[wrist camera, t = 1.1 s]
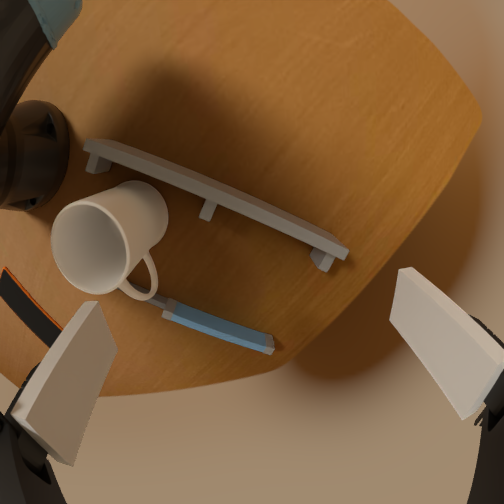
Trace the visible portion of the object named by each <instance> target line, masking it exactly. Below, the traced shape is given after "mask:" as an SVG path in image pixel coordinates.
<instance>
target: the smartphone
mask: <svg viewBox="0 0 504 504" xmlns="http://www.w3.org/2000/svg"><path fill="white" fill-rule="evenodd" d="M0 296H1V297H2V299H3V300H4V301H5V302H6V303H7V305H8V306H9V307H10V308H11V309H12V310H13V312H14V313H15V314H16V315H17V316H18V317H19V318H20V319H21V320H22V321H23V322H24V323H25V325H26V326H27V327H28V328H29V329H30V330H31V331H32V332H33V333H34V334H35V335H36V336H37V337H38V338H39V339H40V340H41V341H42V342H43V343H45V344H46V345H47V346H48V347H49V348H51V347H52V345H53V344H54V342H55V341H56V339H57V338H58V337H59V335H60V334H61V332H62V331H63V330H64V329H63V328H62V327H61V326H60V325H59V324H58V323H56V322H55V321H54V320H53V319H52V318H51V317H50V316H49V315H48V314H47V313H46V312H45V311H44V310H43V308H42V307H41V306H40V305H39V304H38V303H37V302H36V301H35V300H34V299H33V298H32V297H31V296H30V294H29V293H28V292H27V291H26V290H25V289H24V288H23V287H22V285H21V284H20V283H19V281H18V280H17V279H16V278H15V277H14V275H12V273H11V272H10V271H9V270H8V268H7V267H3V270H2V273H1V276H0Z"/></svg>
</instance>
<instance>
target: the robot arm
mask: <svg viewBox="0 0 504 504" xmlns="http://www.w3.org/2000/svg"><path fill="white" fill-rule="evenodd" d="M81 9H82V0H0V209H6V210H14V211H28V210H32V209H34V208H37V207H40V206H42V205H44V204H45V203H47V202H48V201H49V200H50V199H51V198H52V197H53V196H54V194H55V193H56V192H57V190H58V188H59V187H60V185H61V183H62V180H63V178H64V175H65V172H66V168H67V164H68V158H69V134H68V129H67V125H66V122H65V120H64V117H63V115H62V114H61V112H60V111H59V110H58V109H57V108H56V107H55V106H54V105H52V104H51V103H48V102H44V101H38V100H30V101H25V102H22V103H19V104H17V103H18V101H19V99H20V97H21V96H22V94H23V92H24V91H25V89H26V87H27V86H28V84H29V82H30V81H31V79H32V78H33V76H34V75H35V73H36V72H37V70H38V69H39V67H40V66H41V64H42V63H43V62H44V60H45V59H46V57H47V56H48V55H49V53H50V52H51V51H52V49H53V50H54V49H55V48H56V47H57V43H58V41H59V40H60V39H61V37H62V36H63V35H64V33H65V32H66V31H67V30H68V28H69V27H70V26H71V25H72V23H73V22H74V21H75V20H76V19H77V17H78V16H79V14H80V12H81ZM390 321H391V323H392V324H393V325H394V327H395V328H396V329H397V330H398V332H399V333H400V334H401V336H402V337H403V338H404V339H405V341H406V342H407V343H408V345H409V346H410V347H411V349H412V350H413V351H414V352H415V354H416V355H417V356H418V358H419V359H420V361H421V362H422V363H423V364H424V366H425V367H426V369H427V370H428V372H429V373H430V374H431V376H432V377H433V378H434V380H435V381H436V382H437V384H438V386H439V387H440V388H441V390H442V391H443V392H444V394H445V396H446V397H447V399H448V400H449V401H450V403H451V404H452V406H453V407H454V409H455V410H456V412H457V413H458V415H459V416H460V418H461V420H463V419H465V418H467V417H469V416H470V415H472V414H474V413H475V412H476V411H477V410H478V408H479V407H480V405H481V404H482V403H483V401H484V402H485V404H486V405H487V406H486V407H485V409H484V410H483V411H482V413H481V414H480V415H479V416H478V418H477V419H476V420H475V423H474V425H475V426H476V425H477V423H479V421H480V420H481V419H482V418H483V420H482V422H481V424H480V425H479V426H482V431H481V439H480V447H479V453H478V459H477V464H476V469H475V474H474V478H473V483H472V487H471V491H470V494H469V498H468V501H467V504H504V343H503V342H502V341H501V340H500V339H499V338H497V336H496V335H493V332H492V331H490V330H489V329H487V327H486V326H485V325H484V324H483V323H482V322H481V321H480V320H479V319H477V318H475V317H473V316H471V315H469V314H467V313H466V312H464V311H463V310H462V309H461V308H460V307H459V306H458V305H457V304H456V303H454V302H453V301H452V300H451V299H450V298H449V297H447V296H446V295H445V294H444V293H443V292H442V291H440V290H439V289H438V288H437V287H436V286H434V285H433V284H432V283H431V282H430V281H428V280H427V279H426V278H425V277H424V276H422V275H421V274H420V273H418V272H417V271H416V270H415V269H414V268H412V267H409V268H404V269H399V271H398V277H397V283H396V289H395V295H394V300H393V305H392V310H391V315H390ZM117 351H118V348H117V346H116V344H115V342H114V339H113V337H112V335H111V332H110V330H109V327H108V325H107V322H106V320H105V317H104V315H103V312H102V310H101V307H100V304H99V301H85V302H84V303H83V304H82V306H81V307H80V308H79V310H78V311H77V312H76V313H75V315H74V316H73V317H72V319H71V320H70V321H69V323H68V324H67V326H66V327H65V328H64V330H63V331H62V332H61V334H60V335H59V337H58V338H57V339H56V341H55V342H54V344H53V345H52V347H51V348H50V350H49V351H48V352H47V354H46V355H45V357H44V358H43V360H42V361H41V362H40V363H39V364H37V365H36V366H35V367H34V368H33V369H32V370H31V371H30V373H29V375H28V376H27V378H26V381H24V383H23V384H22V386H21V388H20V389H19V391H18V392H17V394H16V396H15V398H14V399H13V401H12V403H11V405H10V406H9V408H8V410H7V412H6V413H5V415H3V414H2V413H1V412H0V504H67V503H66V501H65V499H64V497H63V494H62V493H61V490H60V487H59V485H58V482H57V480H56V478H55V475H54V472H53V470H52V467H51V464H50V462H49V461H48V460H47V459H46V457H47V454H49V455H51V456H52V457H53V458H54V459H55V460H56V461H58V462H60V463H63V464H66V465H70V466H74V462H75V459H76V456H77V453H78V450H79V447H80V444H81V441H82V438H83V435H84V432H85V429H86V427H87V424H88V421H89V419H90V416H91V413H92V410H93V408H94V405H95V403H96V400H97V398H98V395H99V393H100V390H101V388H102V386H103V383H104V381H105V378H106V376H107V374H108V371H109V369H110V367H111V364H112V362H113V360H114V358H115V355H116V353H117Z"/></svg>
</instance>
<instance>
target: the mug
mask: <svg viewBox="0 0 504 504" xmlns="http://www.w3.org/2000/svg"><path fill="white" fill-rule="evenodd" d="M167 225H168V209H167V206H166V203H165V201H164V199H163V197H162V195H161V194H160V193H159V192H158V191H157V190H156V189H155V188H154V187H153V186H151V185H150V184H148V183H145V182H142V181H137V180H132V181H126V182H123V183H121V184H119V185H118V186H116V187H115V188H112V189H109V190H106V191H103V192H100V193H97V194H94V195H92V196H89V197H86V198H83V199H81V200H78V201H76V202H73V203H71V204H69V205H67V206H66V207H64V208H63V209H62V210H61V211H60V212H59V214H58V215H57V217H56V219H55V221H54V223H53V226H52V231H51V248H52V253H53V257H54V260H55V262H56V264H57V266H58V268H59V270H60V271H61V273H62V274H63V276H64V277H65V278H66V279H67V280H68V281H69V282H70V283H71V284H72V285H74V286H75V287H76V288H78V289H80V290H82V291H84V292H87V293H91V294H105V293H109V292H111V291H113V290H115V289H116V288H120V289H121V290H122V291H123V292H124V293H126V294H127V295H128V296H130V297H132V298H134V299H136V300H148V299H150V298H151V297H153V296H154V295H155V293H156V291H157V288H158V276H157V271H156V267H155V264H154V262H153V260H152V257H151V255H150V253H149V250H150V248H151V247H153V246H154V245H156V244H157V243H158V242H159V241H160V240H161V239H162V237H163V236H164V234H165V232H166V229H167ZM142 258H143V259H144V261H145V262H146V264H147V267H148V269H149V272H150V276H151V290H150V292H149V293H148V294H144V293H141V292H139V291H137V290H136V289H134V288H133V287H132V286H131V285H130V284H129V282H128V281H127V279H126V278H127V276H128V275H129V274H130V273H131V271H132V270H133V269H134V268H135V266H136V265H137V264H138V263H139V262H140V260H141V259H142Z"/></svg>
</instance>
